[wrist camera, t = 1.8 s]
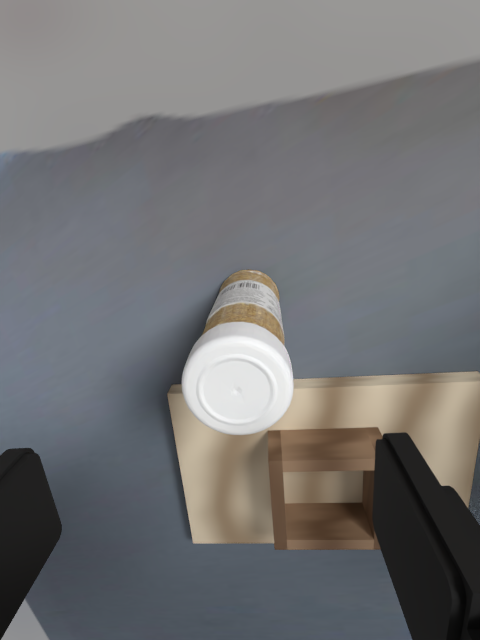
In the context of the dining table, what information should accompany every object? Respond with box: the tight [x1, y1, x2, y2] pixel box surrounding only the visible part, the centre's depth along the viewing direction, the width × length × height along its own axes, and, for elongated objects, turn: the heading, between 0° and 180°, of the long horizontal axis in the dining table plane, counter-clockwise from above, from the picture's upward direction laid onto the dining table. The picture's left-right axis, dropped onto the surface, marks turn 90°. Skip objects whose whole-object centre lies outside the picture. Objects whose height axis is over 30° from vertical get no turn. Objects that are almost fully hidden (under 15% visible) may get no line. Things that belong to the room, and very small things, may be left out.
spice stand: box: [167, 371, 480, 550], centre depth 29 cm, size 24×16×5 cm, turn 95°
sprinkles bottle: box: [182, 270, 294, 435], centre depth 20 cm, size 5×5×14 cm
